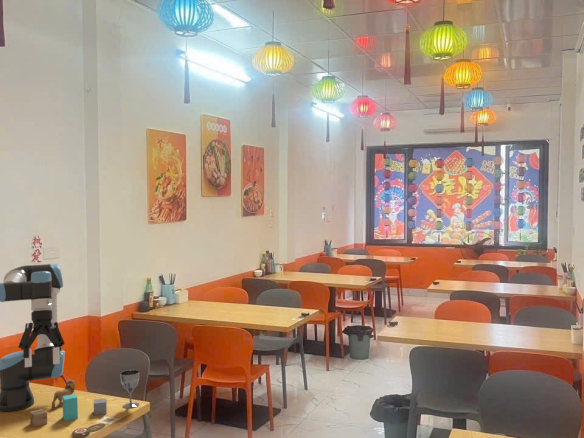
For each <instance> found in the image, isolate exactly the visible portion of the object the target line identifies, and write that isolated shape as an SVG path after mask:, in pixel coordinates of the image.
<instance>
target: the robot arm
mask: <svg viewBox="0 0 584 438" xmlns="http://www.w3.org/2000/svg"><path fill="white" fill-rule="evenodd" d="M62 275H63V274H62V270H61V266H60V265H59V264H56V263H54V264H53V263H47V264H29V265H21V266H19V267H16V268H14V269H11V270H9V271H8V272H6V274H5V275H4V277H3V282H0V303H4V302H5V303H7V302H15V301H17V302H18V301H31V302H30V305H31V308H30V310H31V319H30V320H31V322H28V323H25V325H24V327H25V328H24V332H23V334H22V336H21V339H20V341H19V345H18V349H20V351H14V352H10V353H8V354H6V355H4V356H2V357H1V358H0V412H3V413H4V412H5V413H7V412H15V411H16V412H17V411H21V410H24V409H27V408H30V407H31V406H34V404H35V397H34V394H33V392H32V389H31V387H30V382H31V381H37V380H38V381H39V380H45V379H54V378H59V377H61V376H62V375H63V372H64V365H65V357H66V351H65V350H63V349H62V347H63V346H65V341H64V338H63V336H62V334H61V331H60V329H59V324H58V294H59V293H60V292H61V288H63V287H64V283H63V282H64V281H63V276H62ZM36 339H37V345H36V347H35V348H34V349H33V352H32V348H31V347H32V345H33V344H34V342H35V341H36Z"/></svg>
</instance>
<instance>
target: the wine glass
mask: <svg viewBox="0 0 584 438" xmlns="http://www.w3.org/2000/svg"><path fill="white" fill-rule="evenodd" d="M139 380H140V371H139V370H138V369H126V370H123V371H121V372H120V383H121V385H122V388H124V389H125V390H126V391H127V394H128V395H129V396H128V397H129V402H128V403H125V404H123V405H122V407H121V408H123V409H125V410H130V409H136V408H138V407H139V406H140V404H139V403H138V402H132V398H133V397H132V395H133V391H134V390H135V389H136V388H137V386H138V385H139Z"/></svg>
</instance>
